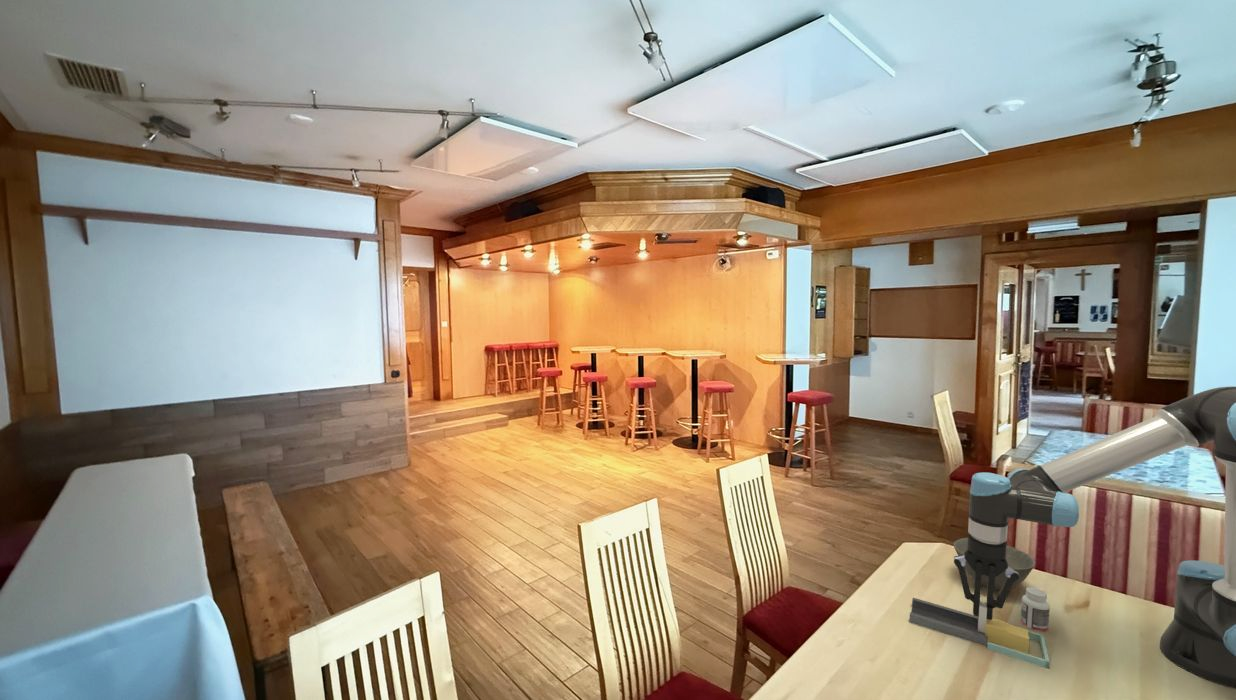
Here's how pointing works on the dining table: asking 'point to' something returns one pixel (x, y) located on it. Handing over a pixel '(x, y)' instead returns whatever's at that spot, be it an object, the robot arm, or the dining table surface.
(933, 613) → the slot rail
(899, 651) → the dining table surface
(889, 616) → the dining table surface
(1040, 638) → the tray
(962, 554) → the bowl
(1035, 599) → the pill bottle
